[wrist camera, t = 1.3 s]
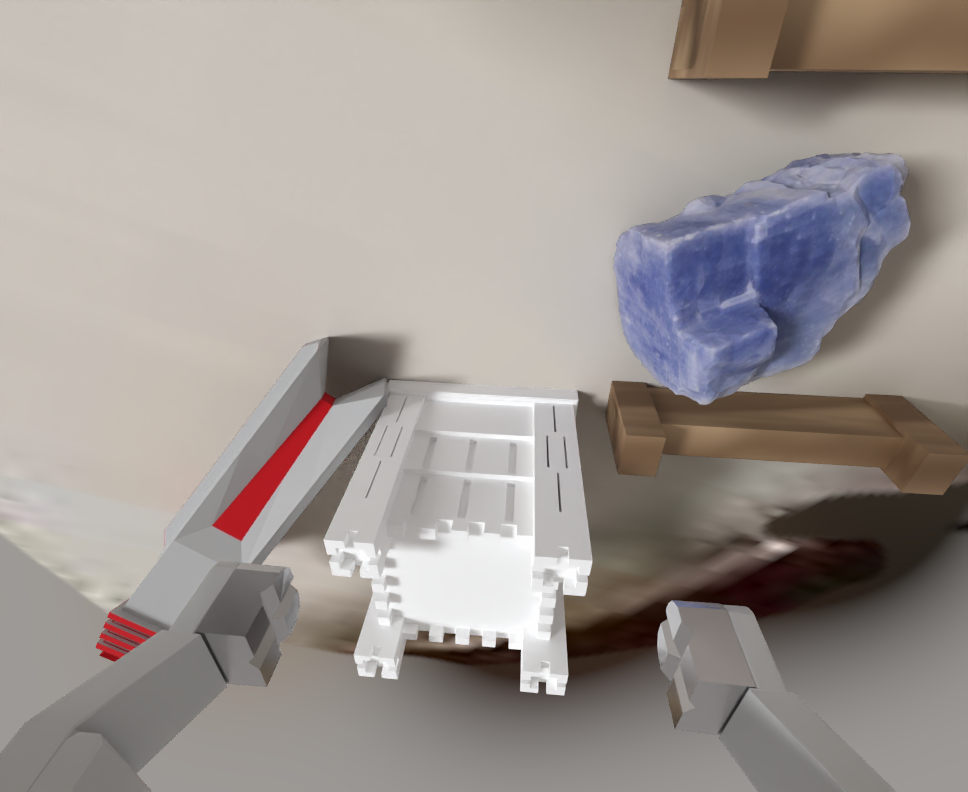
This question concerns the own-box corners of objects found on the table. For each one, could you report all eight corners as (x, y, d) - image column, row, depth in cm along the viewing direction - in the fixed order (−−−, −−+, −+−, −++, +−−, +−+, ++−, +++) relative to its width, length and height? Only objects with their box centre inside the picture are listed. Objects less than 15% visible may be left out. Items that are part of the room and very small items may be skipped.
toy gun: (397, 358, 45) (394, 406, 31) (231, 569, 49) (161, 698, 35) (335, 313, 43) (303, 342, 29) (167, 536, 47) (65, 660, 33)
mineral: (686, 447, 26) (630, 296, 21) (633, 362, 34) (582, 237, 29) (978, 329, 23) (993, 119, 18) (844, 266, 31) (829, 107, 26)
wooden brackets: (683, -2, 23) (729, -28, 17) (1137, -2, 21) (1337, -31, 16) (605, 416, 36) (617, 474, 31) (880, 432, 35) (942, 494, 30)
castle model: (558, 520, 43) (568, 698, 31) (405, 509, 44) (354, 677, 32) (576, 389, 35) (601, 556, 23) (389, 379, 36) (315, 534, 24)
